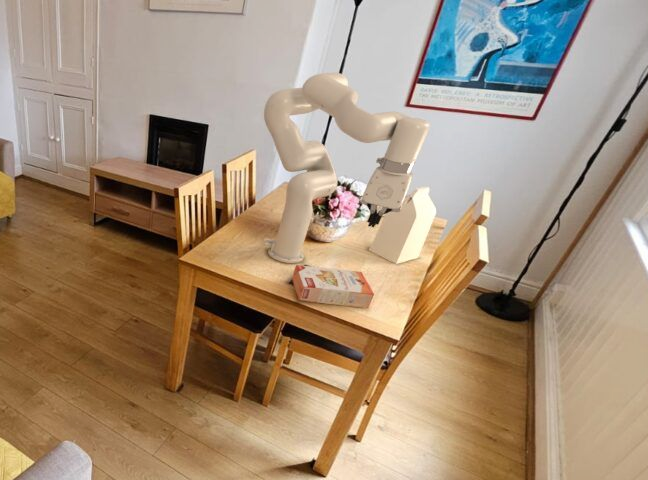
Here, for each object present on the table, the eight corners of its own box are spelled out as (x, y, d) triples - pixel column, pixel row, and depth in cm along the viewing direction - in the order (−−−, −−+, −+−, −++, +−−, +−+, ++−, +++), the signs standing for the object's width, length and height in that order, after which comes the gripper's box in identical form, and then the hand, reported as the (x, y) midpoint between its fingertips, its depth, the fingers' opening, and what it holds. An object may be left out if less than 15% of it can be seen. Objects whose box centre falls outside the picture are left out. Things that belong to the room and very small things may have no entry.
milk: (396, 263, 164) (426, 196, 149) (368, 250, 173) (395, 185, 158) (418, 257, 168) (450, 191, 153) (390, 244, 177) (418, 180, 162)
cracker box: (375, 292, 136) (303, 286, 140) (368, 309, 140) (298, 301, 143) (362, 270, 148) (295, 264, 151) (355, 285, 151) (290, 279, 154)
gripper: (364, 163, 127) (342, 222, 137) (425, 175, 119) (396, 237, 130) (370, 156, 131) (348, 214, 142) (429, 168, 124) (402, 228, 134)
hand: (371, 225), depth 136 cm, fingers closed
